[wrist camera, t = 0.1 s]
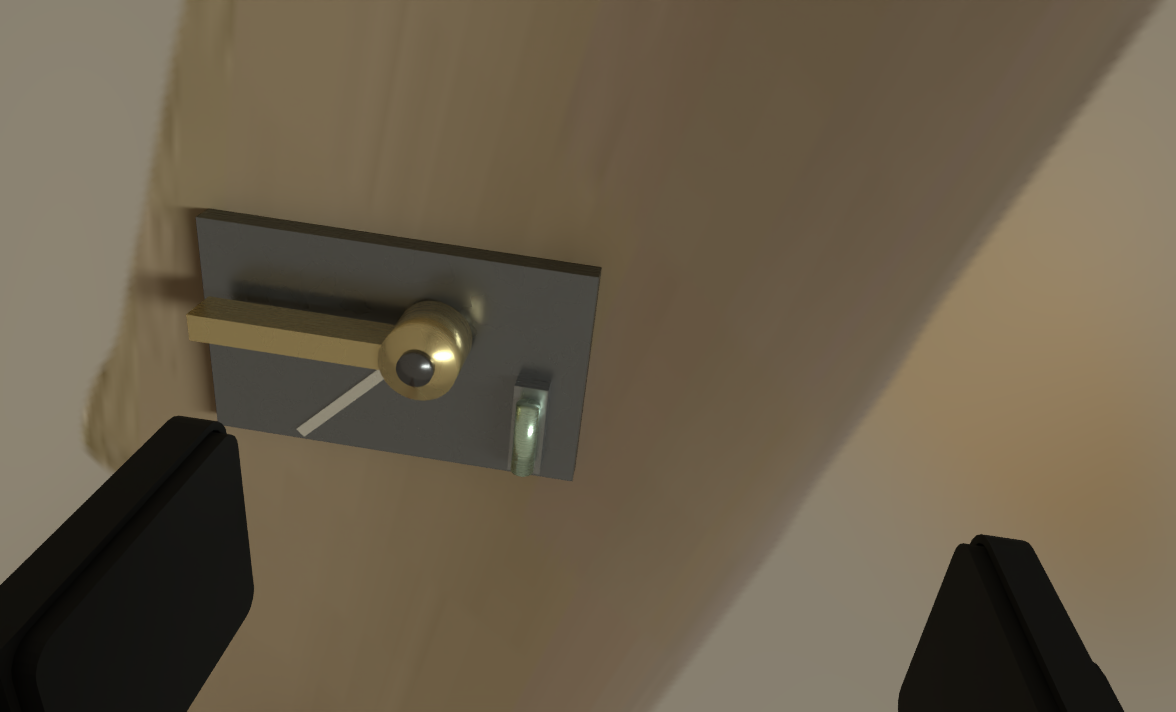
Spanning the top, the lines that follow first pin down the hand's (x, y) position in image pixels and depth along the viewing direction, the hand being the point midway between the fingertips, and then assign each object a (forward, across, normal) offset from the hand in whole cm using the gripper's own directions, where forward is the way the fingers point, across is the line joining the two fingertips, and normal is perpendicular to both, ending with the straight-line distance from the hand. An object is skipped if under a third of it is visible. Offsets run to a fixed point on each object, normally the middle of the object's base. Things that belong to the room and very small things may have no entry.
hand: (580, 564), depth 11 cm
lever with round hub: (+35, +17, +16) cm, 42 cm away
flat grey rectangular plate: (+37, +14, +18) cm, 43 cm away
